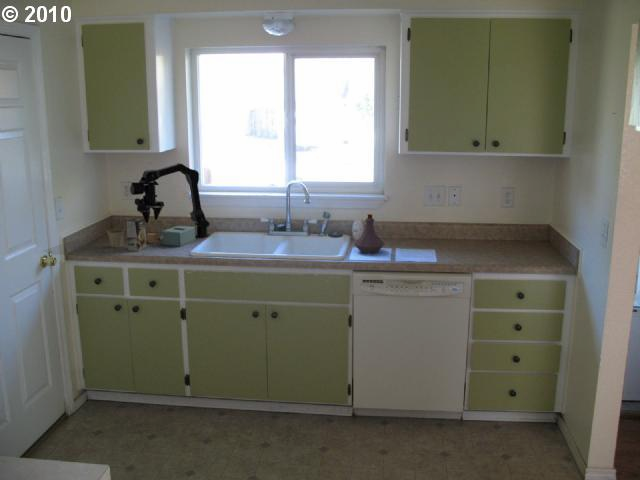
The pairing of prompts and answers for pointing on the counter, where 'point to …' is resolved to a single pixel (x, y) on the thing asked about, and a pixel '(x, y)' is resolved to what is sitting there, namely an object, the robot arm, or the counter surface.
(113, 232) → the flower pot
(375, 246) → the flask
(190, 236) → the box
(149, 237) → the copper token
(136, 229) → the coffee box
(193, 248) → the counter surface
